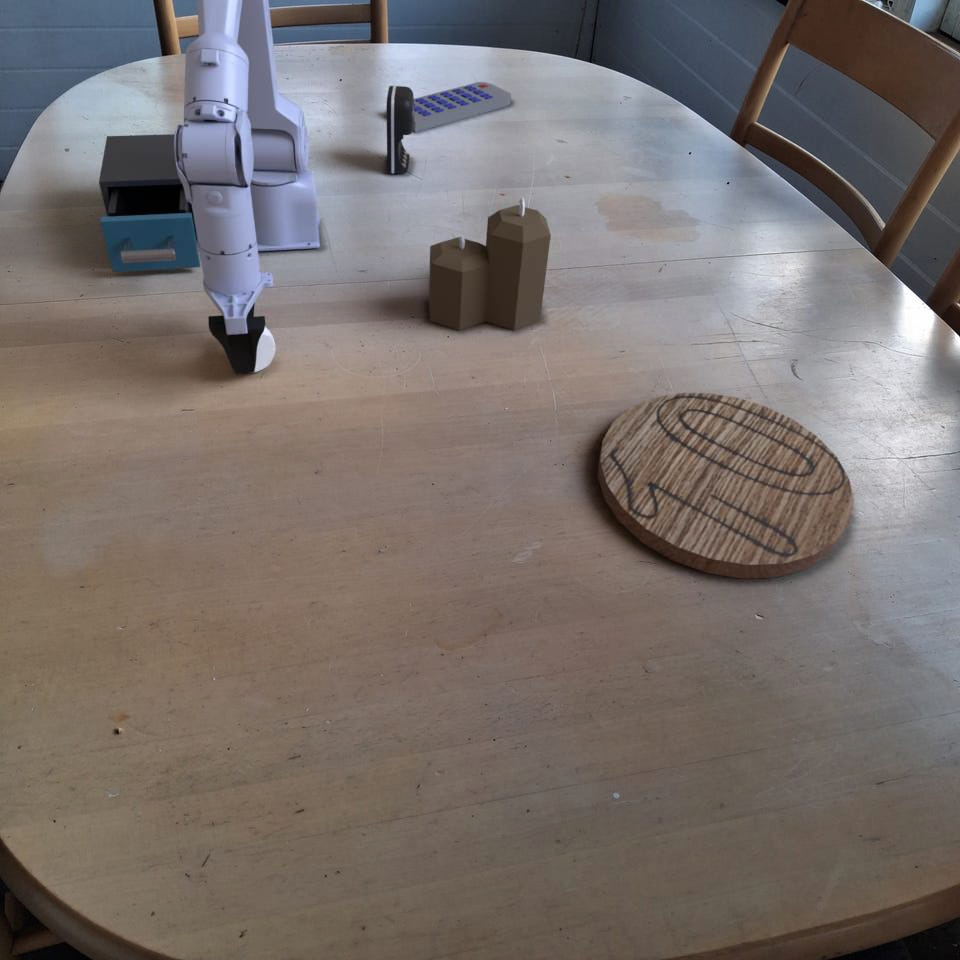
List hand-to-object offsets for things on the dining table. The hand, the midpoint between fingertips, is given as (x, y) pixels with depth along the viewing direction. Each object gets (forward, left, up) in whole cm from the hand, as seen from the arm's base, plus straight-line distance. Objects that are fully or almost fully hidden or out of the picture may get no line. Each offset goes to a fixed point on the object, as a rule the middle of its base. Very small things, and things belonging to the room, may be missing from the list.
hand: (243, 352), depth 100 cm
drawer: (+10, -24, -1) cm, 26 cm away
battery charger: (-25, -48, -2) cm, 54 cm away
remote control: (-37, -69, -2) cm, 78 cm away
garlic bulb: (0, 0, -2) cm, 2 cm away
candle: (-30, -8, -2) cm, 31 cm away
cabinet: (+10, -35, -2) cm, 37 cm away
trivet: (-46, +27, -2) cm, 53 cm away
